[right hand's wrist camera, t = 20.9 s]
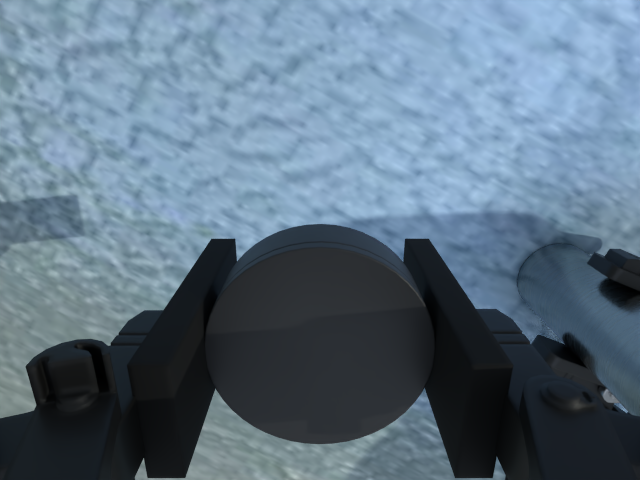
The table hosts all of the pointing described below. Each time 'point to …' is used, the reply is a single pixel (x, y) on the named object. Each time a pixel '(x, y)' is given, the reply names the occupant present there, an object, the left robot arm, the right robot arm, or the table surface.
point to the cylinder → (588, 316)
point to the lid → (319, 336)
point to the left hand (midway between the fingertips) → (569, 308)
